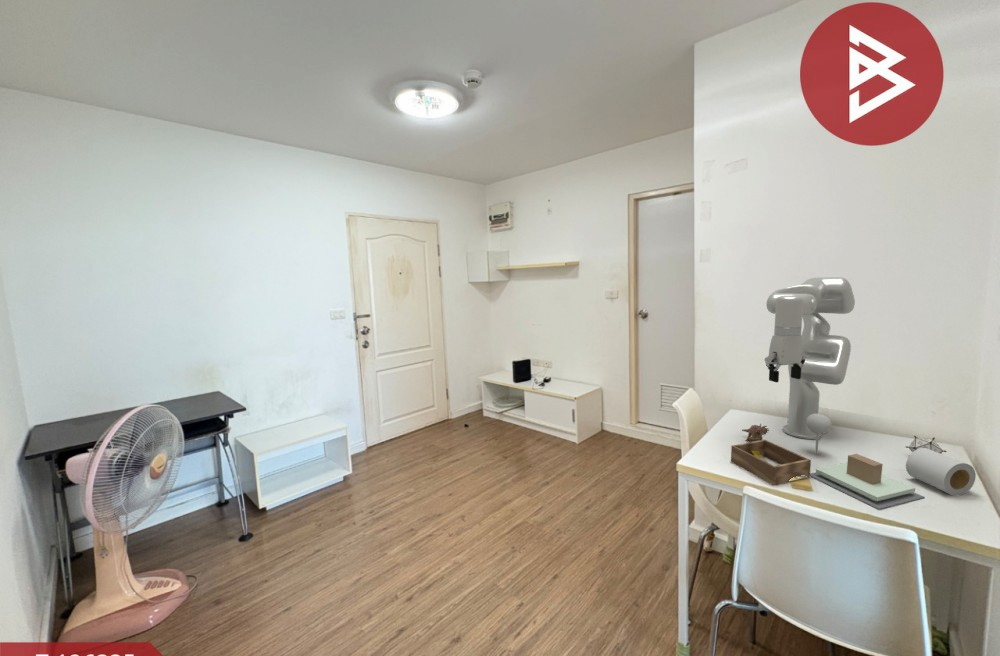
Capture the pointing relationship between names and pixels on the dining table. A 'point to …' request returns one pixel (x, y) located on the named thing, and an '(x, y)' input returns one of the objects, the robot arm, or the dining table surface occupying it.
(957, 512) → the dining table surface
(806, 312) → the robot arm
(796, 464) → the crate
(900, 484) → the lid
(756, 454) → the medication box
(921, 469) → the toilet paper
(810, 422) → the lollipop
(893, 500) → the mat
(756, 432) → the dinosaur figurine
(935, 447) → the grey rod frame
